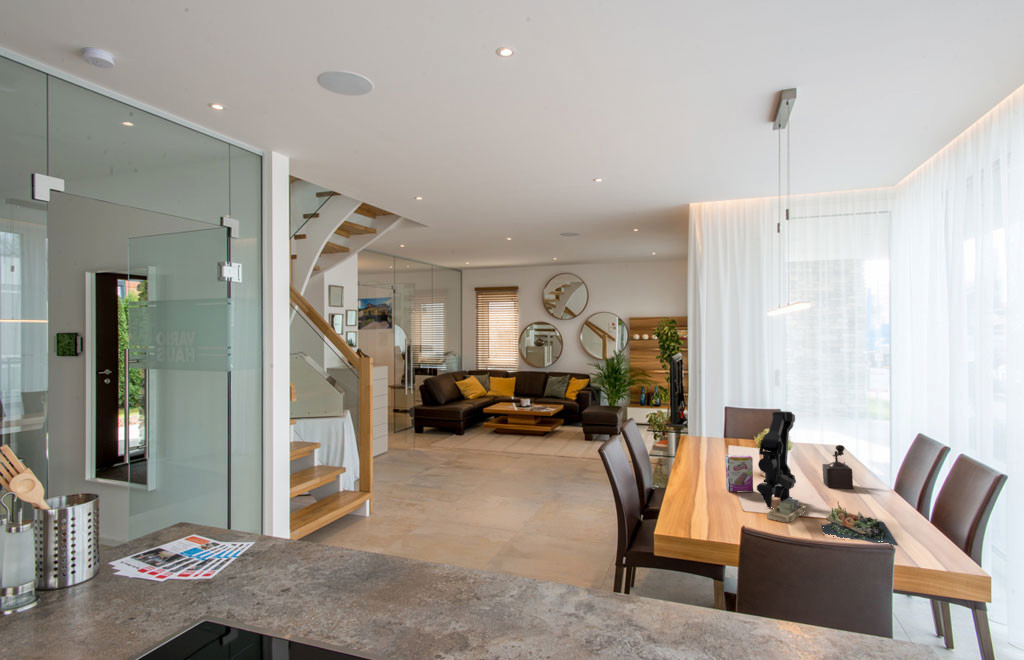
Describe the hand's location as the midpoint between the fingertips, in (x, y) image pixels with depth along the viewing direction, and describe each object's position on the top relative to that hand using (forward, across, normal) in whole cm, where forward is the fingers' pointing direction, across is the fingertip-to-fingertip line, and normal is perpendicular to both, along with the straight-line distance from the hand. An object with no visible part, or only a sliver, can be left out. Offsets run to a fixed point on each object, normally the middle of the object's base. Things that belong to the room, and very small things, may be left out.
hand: (773, 505), depth 227 cm
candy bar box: (+1, +15, +21) cm, 26 cm away
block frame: (+1, -6, -8) cm, 10 cm away
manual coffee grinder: (+1, +56, -8) cm, 57 cm away
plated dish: (+2, -6, -31) cm, 31 cm away
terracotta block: (+1, 0, 0) cm, 1 cm away
